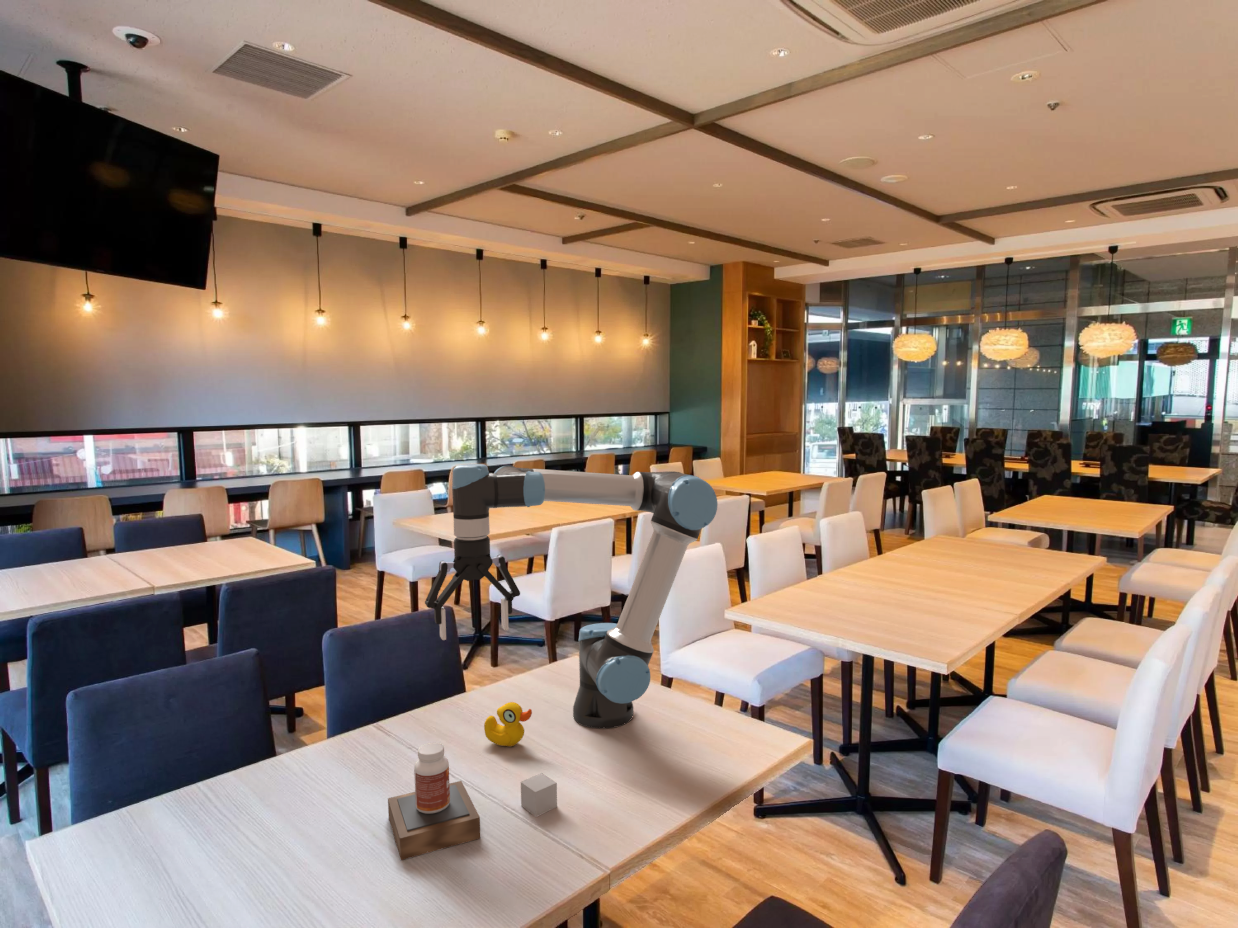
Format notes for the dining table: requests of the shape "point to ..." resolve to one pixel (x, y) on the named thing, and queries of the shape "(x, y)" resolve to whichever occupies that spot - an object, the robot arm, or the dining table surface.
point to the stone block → (538, 794)
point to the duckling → (507, 725)
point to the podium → (433, 823)
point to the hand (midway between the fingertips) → (474, 633)
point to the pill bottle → (431, 779)
